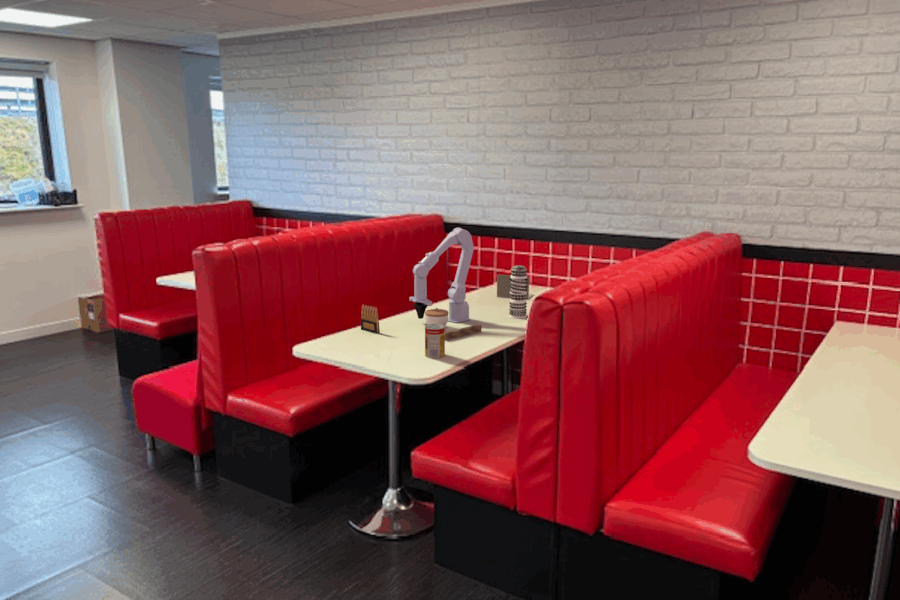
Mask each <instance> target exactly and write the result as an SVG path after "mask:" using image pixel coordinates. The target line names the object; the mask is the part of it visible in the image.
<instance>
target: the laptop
mask: <svg viewBox="0 0 900 600" xmlns="http://www.w3.org/2000/svg"><path fill="white" fill-rule="evenodd" d="M496 277H497V278H496V297H497V298H503V299H510V298H511V294H510V287H509V285H510V284H509V282H510V280H509V278H510V277H511V274H509V275H508V274H496ZM527 279H528V280H527V281H526V282H528V283H527V284H526V285H527V286H528V287H527V288H526V289H527V291H526V292H527V294H526V301H528V300H530V299H531V298H533V296H534V294H533V293H530V291H529V290H530V276H527Z"/></svg>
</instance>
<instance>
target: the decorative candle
mask: <svg viewBox="0 0 900 600" xmlns="http://www.w3.org/2000/svg"><path fill="white" fill-rule="evenodd" d="M527 272H528V269H527V267H526V266H525V265H523V264H522V265H519V264H518V265H517V264H516V265H513V266H512V268H510V275H511V277H510V278H509V280H510V282H509V284H510V285H509V287H510V294H511V298H509V312H508V314H509V315H508V316H509V317H510V318H512V319H524V318H527V314H528V313H527V311H528V310H527V307H528V306H527V304H528V303H527V300H526V294H527V292H526V291H527V289H526V288H527V287H528V286H527V285H526V284H527V283H528V282H526V281H527V280H528V279H527V277H528V275H527V274H528V273H527Z"/></svg>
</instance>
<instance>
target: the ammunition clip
mask: <svg viewBox="0 0 900 600" xmlns="http://www.w3.org/2000/svg"><path fill="white" fill-rule="evenodd" d="M378 312H379V311H378V308H377V306H372V305H367V304H365V305H364V303H362V305H361V319H360V330H362V331H365V332H368V333H372V334H381V333H380V321H379V313H378Z"/></svg>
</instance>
